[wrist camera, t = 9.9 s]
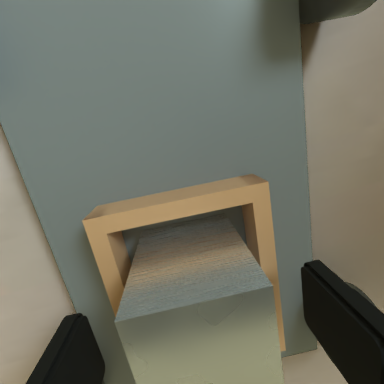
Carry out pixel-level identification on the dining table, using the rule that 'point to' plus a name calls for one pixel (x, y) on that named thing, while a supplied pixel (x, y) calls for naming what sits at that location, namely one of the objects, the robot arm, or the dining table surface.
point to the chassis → (162, 137)
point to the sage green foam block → (199, 308)
